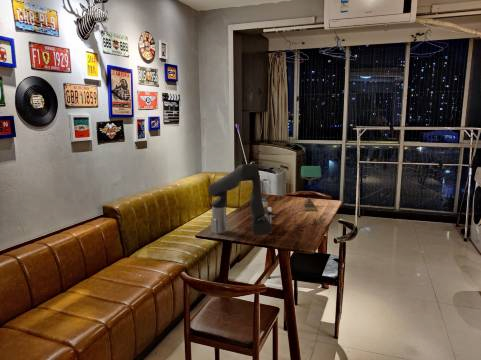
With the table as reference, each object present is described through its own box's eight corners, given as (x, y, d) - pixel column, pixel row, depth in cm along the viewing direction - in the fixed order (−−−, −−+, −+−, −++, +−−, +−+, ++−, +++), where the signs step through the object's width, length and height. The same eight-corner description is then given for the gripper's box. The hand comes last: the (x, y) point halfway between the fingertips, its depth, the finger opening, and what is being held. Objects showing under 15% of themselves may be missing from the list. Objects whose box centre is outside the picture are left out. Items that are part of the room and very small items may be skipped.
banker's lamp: (318, 205, 302) (319, 164, 296) (321, 212, 282) (322, 168, 275) (299, 205, 304) (300, 164, 297) (301, 211, 283) (302, 168, 277)
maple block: (258, 224, 216) (258, 206, 214) (258, 218, 228) (258, 201, 226) (267, 224, 216) (267, 206, 214) (267, 218, 228) (267, 201, 226)
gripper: (275, 213, 202) (274, 205, 219) (249, 212, 203) (251, 205, 220) (275, 225, 203) (274, 217, 220) (249, 225, 205) (251, 216, 221)
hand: (262, 211), depth 220 cm, fingers closed on maple block, 5 cm apart
